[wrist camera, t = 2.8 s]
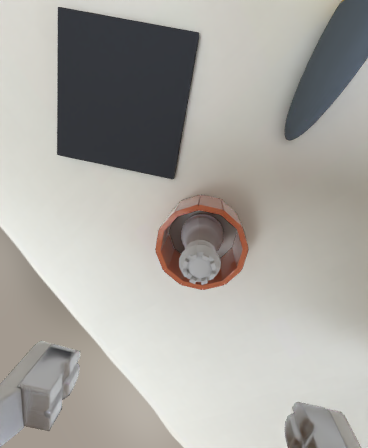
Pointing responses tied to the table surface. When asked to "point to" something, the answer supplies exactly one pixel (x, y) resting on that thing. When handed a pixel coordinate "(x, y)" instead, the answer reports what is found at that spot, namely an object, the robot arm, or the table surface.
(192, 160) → the table surface
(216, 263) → the rook chess piece
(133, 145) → the pad
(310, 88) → the paintbrush
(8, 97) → the table surface
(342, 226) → the table surface
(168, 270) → the brown hollow cylinder
